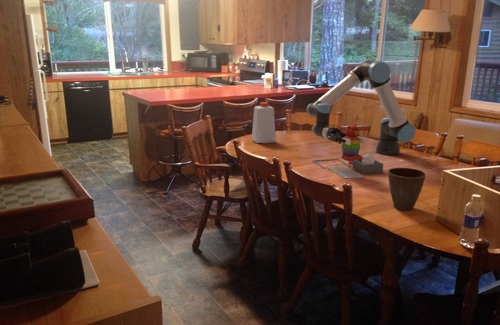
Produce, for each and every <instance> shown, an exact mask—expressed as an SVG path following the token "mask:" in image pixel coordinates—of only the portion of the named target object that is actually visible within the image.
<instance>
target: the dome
mask: <svg viewBox="0 0 500 325" xmlns="http://www.w3.org/2000/svg"><path fill="white" fill-rule="evenodd" d="M362 157H363V160H362V161H361V163H363V164H374V162H375V160H376V159H375V158H374V156H373V155H372V154H370V153H366V154H364V155H363V156H362Z"/></svg>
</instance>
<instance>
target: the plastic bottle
mask: <svg viewBox="0 0 500 325" xmlns="http://www.w3.org/2000/svg"><path fill="white" fill-rule="evenodd" d="M252 120H253V121H252V130H251V131H252V133H251V139H252V141H253V142H254V143H257V144H260V143H262V144H272V143H275V142H276V127H275V124H276V123H275V108H274V107H273V106H270V105H269V102H267V101H265V102H263V101H262V102H259V105H257V106H254V108H253V119H252Z"/></svg>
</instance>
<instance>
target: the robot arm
mask: <svg viewBox="0 0 500 325" xmlns="http://www.w3.org/2000/svg"><path fill="white" fill-rule="evenodd" d="M391 73H392V72H391V68H390V66H389V64H387V63H386V62H384V61H381V60H375V61H374V60H365V61H363V62H361V63H360V64H358V65H357V66H355V67H354V68H352V69H351V71H349V73H348V75H347V76H346V77H344V78H343V79H342V80H340V81H339V82H338V83H337V84H336V85H335V86H334V87H332V88H331V89H329V91H327V92H326V93H325V94H324V95H322V96H320V97H319V99H317V100H316V101H315V102H313V103H312V102H311V103H309V104H307V106H306V113H307V114H308V115H309V116H310V117H312V118H313V117H314V118H316V119H315V123H314V124H313V126H312V128H311V129H312V130H311V131H312V133H313V135H315V136H317V137H320V138H323V139H327V140H328V141H332V142H335V143H338V144H339V145H340V144H341V145H342V143H344V144H347V145H351V140H349V139H346V138H345V136H347V135H346V132H343V131H341V129H339V128H338V127H334V126H331V125H330V116H331V115H330V114H331V113H330V112H331V106H332V105H333V104H334V103H336V102H337V101H338V100H339V99H341V97H343V96H344V95H346V94H347V93H348V92H349V91H350V90H352V89H353V88H354V87H356V85H361V84H362V83H363V82H366V81H368V83H369V85H370V87H371V88H372V89H374V91H375V92H376V94H377V96H378V99H379V102H380V103H381V106H382V109H383V110H384V112H385V115H386V117H383V118H381V120H380V129H379V140H378V143H377V145H376V147H375V153H376V154H379V155H385V156H397V155H399V154H400V153H401V149H400V145H399V142H400V143H409V142H411V141H412V140H413V139H414V138H415V135H416V132H417V130H416V127H415V126H414V124H411V123H410V121H409V118H408V117H407V116H405V115H404V114H403V111H402V109H401V108H400V105H399V103H398V100H397V97H396V95H395V93H394V91H393V89H392V87H391V84H390V81H391ZM358 137H359V142H360V144H364V145H366V137H362V136H361V135H360V134H359V135H358Z"/></svg>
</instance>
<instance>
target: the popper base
mask: <svg viewBox="0 0 500 325" xmlns="http://www.w3.org/2000/svg"><path fill="white" fill-rule="evenodd" d="M374 160H375V162H374V164H363V163H361V161H362V160H353V165H352V166H351V167H352V168H351V169H352V170H354V171H356V172H357V173H358V172H359V174H361V175H369V174H383V171H384V163H382V162H380V161H378V160H377V159H374Z"/></svg>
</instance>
